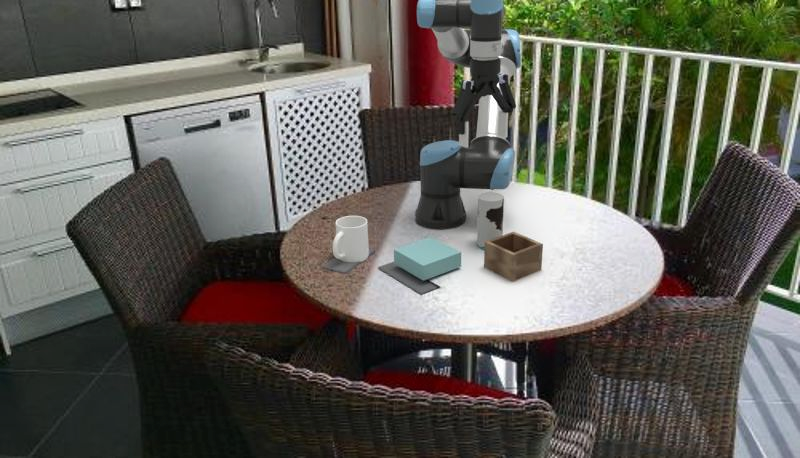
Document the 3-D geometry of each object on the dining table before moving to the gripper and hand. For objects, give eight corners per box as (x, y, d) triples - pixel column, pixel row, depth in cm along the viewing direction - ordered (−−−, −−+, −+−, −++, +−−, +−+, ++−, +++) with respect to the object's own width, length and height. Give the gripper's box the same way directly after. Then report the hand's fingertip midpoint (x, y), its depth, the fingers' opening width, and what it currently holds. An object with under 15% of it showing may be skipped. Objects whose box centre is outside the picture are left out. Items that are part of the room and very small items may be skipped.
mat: (377, 268, 174) (377, 267, 174) (432, 249, 184) (432, 248, 183) (421, 294, 161) (421, 293, 160) (478, 273, 170) (478, 271, 170)
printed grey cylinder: (506, 251, 181) (508, 199, 175) (483, 256, 179) (485, 202, 173) (494, 242, 187) (496, 190, 181) (472, 246, 185) (473, 194, 179)
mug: (347, 272, 172) (344, 235, 168) (322, 264, 177) (319, 228, 173) (375, 255, 181) (373, 219, 177) (351, 248, 186) (348, 213, 182)
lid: (394, 267, 173) (393, 249, 171) (431, 254, 180) (431, 237, 178) (423, 285, 164) (423, 265, 162) (461, 270, 171) (461, 252, 169)
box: (483, 270, 171) (484, 241, 168) (512, 259, 177) (513, 231, 173) (512, 285, 164) (513, 255, 161) (541, 273, 169) (543, 244, 166)
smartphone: (320, 266, 175) (352, 244, 187) (321, 269, 175) (353, 247, 187) (345, 272, 171) (376, 249, 183) (345, 276, 172) (376, 252, 184)
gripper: (456, 65, 158) (456, 153, 166) (532, 53, 171) (528, 135, 179) (436, 61, 163) (436, 147, 172) (511, 50, 177) (508, 130, 185)
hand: (483, 141), depth 176 cm, fingers open, 13 cm apart
